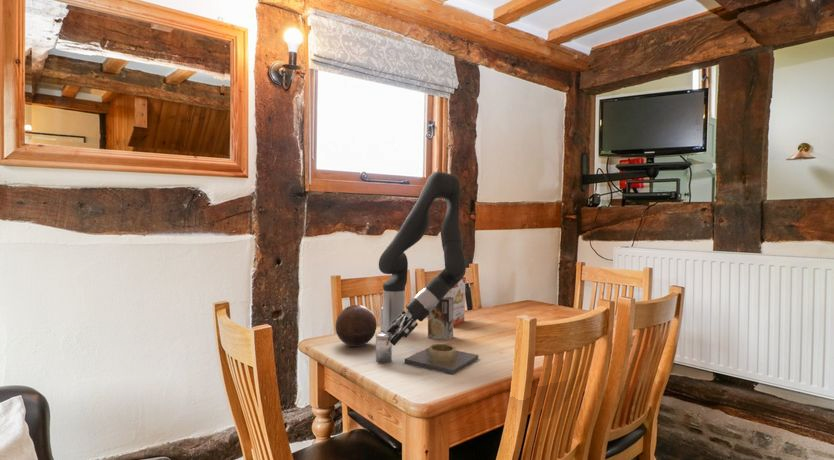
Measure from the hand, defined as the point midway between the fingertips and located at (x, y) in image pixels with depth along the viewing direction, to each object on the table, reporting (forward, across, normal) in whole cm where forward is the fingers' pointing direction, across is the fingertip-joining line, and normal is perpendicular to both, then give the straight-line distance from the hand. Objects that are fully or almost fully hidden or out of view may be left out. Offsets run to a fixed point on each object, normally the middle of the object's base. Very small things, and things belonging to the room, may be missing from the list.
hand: (389, 339), depth 148 cm
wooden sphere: (+11, -20, -1) cm, 22 cm away
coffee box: (-13, -23, +23) cm, 36 cm away
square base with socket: (-7, +4, +17) cm, 19 cm away
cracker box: (-22, -44, +32) cm, 59 cm away
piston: (+6, 0, +4) cm, 7 cm away
